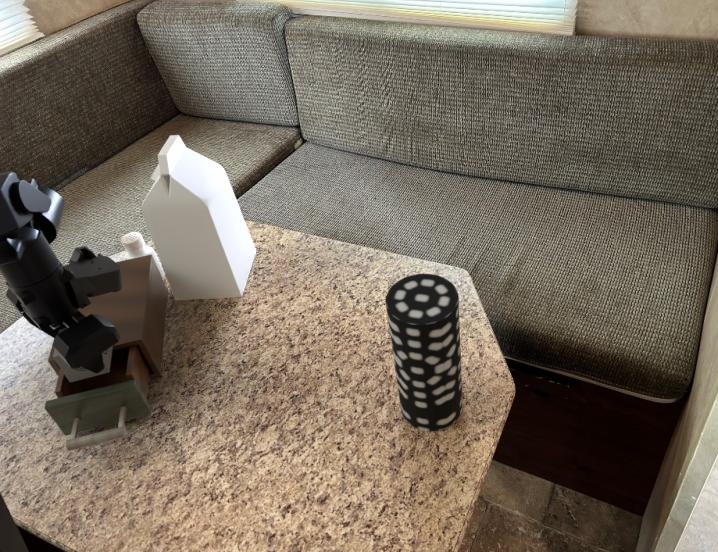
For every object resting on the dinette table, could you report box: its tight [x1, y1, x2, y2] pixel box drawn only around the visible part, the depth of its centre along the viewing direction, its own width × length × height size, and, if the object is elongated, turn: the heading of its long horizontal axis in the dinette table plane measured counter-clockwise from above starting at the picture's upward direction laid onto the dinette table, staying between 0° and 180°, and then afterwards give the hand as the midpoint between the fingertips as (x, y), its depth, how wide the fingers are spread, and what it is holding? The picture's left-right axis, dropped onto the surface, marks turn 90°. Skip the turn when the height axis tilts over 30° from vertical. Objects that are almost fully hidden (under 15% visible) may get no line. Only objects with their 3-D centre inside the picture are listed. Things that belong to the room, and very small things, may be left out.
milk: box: [141, 134, 257, 301], centre depth 98 cm, size 12×12×26 cm
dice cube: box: [53, 328, 113, 382], centre depth 80 cm, size 5×5×5 cm
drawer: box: [43, 345, 153, 452], centre depth 86 cm, size 23×11×6 cm, turn 14°
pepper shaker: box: [121, 231, 166, 279], centre depth 104 cm, size 4×4×10 cm
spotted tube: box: [385, 273, 464, 432], centre depth 75 cm, size 8×8×20 cm
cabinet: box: [47, 255, 169, 380], centre depth 94 cm, size 20×13×8 cm, turn 14°
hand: (88, 358), depth 81 cm, fingers closed on dice cube, 6 cm apart
